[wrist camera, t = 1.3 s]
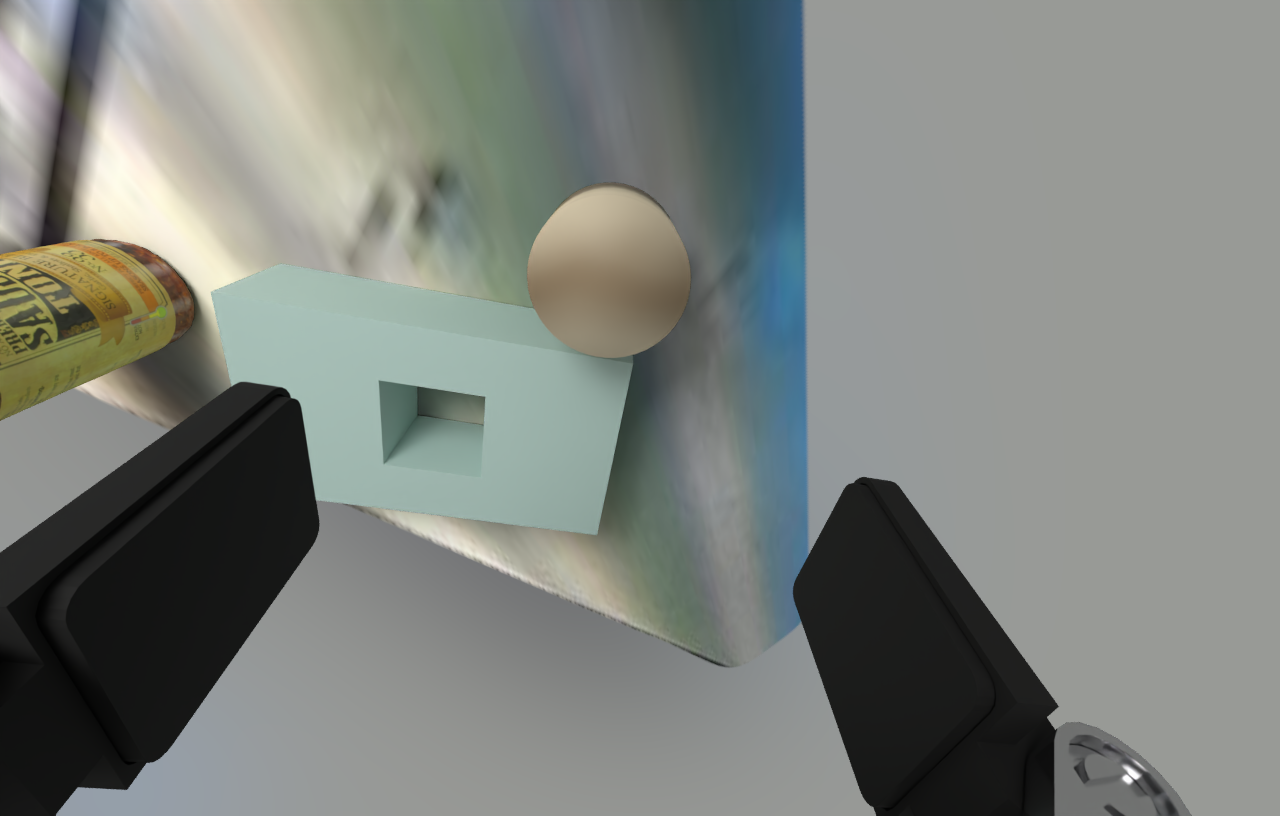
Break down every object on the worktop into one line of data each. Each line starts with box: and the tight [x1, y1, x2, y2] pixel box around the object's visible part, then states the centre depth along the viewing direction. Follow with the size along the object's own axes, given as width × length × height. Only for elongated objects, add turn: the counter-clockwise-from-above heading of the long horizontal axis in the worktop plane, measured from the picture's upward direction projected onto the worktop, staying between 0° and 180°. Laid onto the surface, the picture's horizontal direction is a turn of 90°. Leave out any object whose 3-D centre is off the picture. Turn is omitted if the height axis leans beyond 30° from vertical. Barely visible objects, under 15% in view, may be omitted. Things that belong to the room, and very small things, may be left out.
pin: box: [527, 183, 691, 358], centre depth 24 cm, size 6×6×10 cm
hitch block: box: [211, 263, 633, 535], centre depth 30 cm, size 12×20×6 cm, turn 79°
